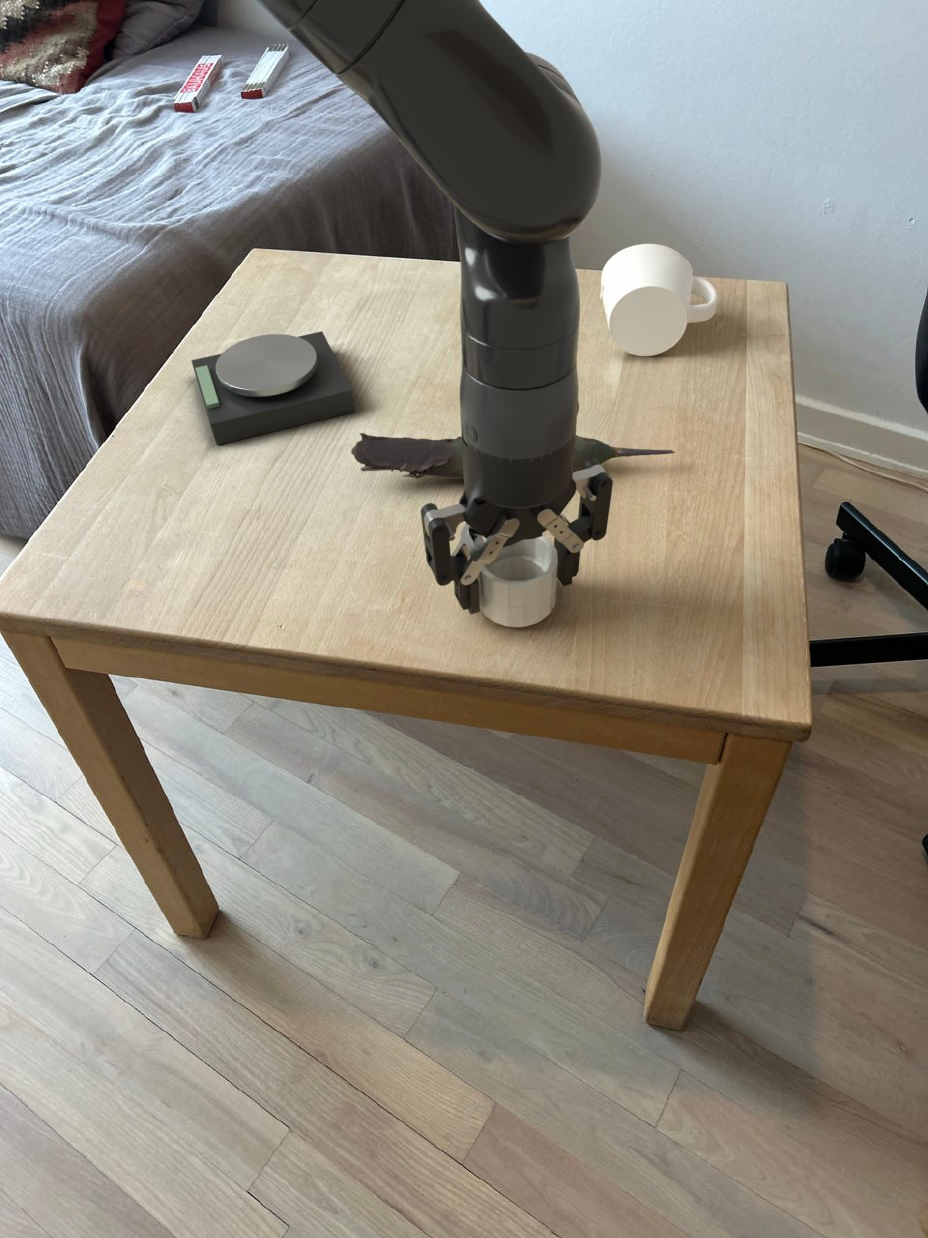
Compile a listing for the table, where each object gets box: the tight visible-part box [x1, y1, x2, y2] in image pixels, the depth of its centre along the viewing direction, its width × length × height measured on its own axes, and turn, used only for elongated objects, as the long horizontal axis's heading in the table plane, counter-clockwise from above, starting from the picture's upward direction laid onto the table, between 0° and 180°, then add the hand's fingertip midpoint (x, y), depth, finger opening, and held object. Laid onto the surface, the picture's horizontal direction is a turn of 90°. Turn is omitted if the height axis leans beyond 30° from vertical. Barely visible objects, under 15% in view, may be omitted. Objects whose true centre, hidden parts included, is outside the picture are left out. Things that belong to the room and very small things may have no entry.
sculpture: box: [350, 432, 676, 480], centre depth 79 cm, size 5×29×5 cm, turn 92°
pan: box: [216, 333, 318, 397], centre depth 88 cm, size 10×10×1 cm
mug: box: [599, 243, 719, 357], centre depth 92 cm, size 12×9×8 cm
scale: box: [191, 331, 356, 446], centre depth 89 cm, size 14×12×3 cm
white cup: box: [477, 534, 558, 629], centre depth 68 cm, size 6×6×5 cm
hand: (516, 592), depth 69 cm, fingers open, 7 cm apart
